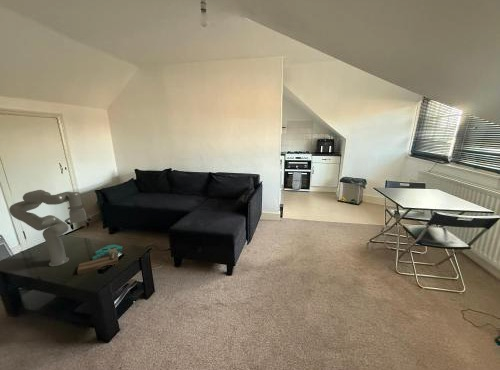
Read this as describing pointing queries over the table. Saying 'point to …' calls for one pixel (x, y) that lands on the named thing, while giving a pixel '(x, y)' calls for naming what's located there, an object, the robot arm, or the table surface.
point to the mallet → (112, 252)
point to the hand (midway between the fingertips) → (80, 227)
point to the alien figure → (106, 250)
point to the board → (97, 264)
